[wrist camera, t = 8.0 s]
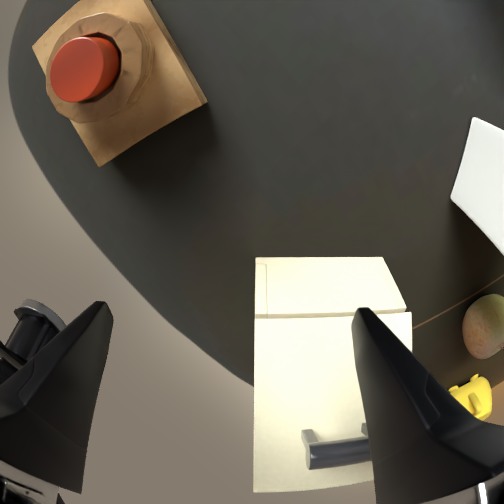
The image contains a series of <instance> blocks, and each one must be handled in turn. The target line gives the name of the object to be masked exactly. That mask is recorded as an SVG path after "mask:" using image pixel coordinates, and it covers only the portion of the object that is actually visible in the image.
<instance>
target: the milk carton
mask: <svg viewBox="0 0 504 504" xmlns="http://www.w3.org/2000/svg"><path fill="white" fill-rule="evenodd" d="M451 200H452V201H453V202H454V203H455V204H456V205H458V206H459V207H460V208H461V209H462V210H463V211H464V212H465V213H466V214H467V215H468V216H469V218H470V219H471V220H472V221H473V222H474V223H475V224H476V225H477V226H478V227H479V228H480V229H481V230H482V231H483V232H484V233H485V235H486V236H487V237H488V238H489V239H490V240H491V241H492V242H493V244H494V245H495V246H496V247H497V248H498V249H499V251H500V252H501V253H502V254H503V255H504V131H503V130H501V129H499V128H497V127H495V126H493V125H491V124H489V123H487V122H484V121H482V120H480V119H478V118H475V117H474V118H472V122H471V126H470V131H469V135H468V139H467V143H466V147H465V151H464V154H463V158H462V162H461V165H460V168H459V172H458V175H457V178H456V181H455V184H454V187H453V190H452V194H451Z"/></svg>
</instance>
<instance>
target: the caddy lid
mask: <svg viewBox="0 0 504 504" xmlns="http://www.w3.org/2000/svg"><path fill="white" fill-rule="evenodd" d="M377 316H378V317H379V318H380V319H381V320H382V321H383V322H384V323H385V324H386V325H387V326H388V328H389V329H390V330H391V331H392V332H393V333H394V334H395V335H396V336H397V337H398V338H399V339H400V340H401V341H402V342H403V343H404V345H405V346H406V347H407V348H408V349H409V350H410V351H411V352H412V315H411V312H404V313H392V314H379V315H377ZM353 317H354V316H346V317H323V318H282V319H255V343H254V466H253V468H254V469H253V491H254V492H288V491H303V490H313V489H322V488H330V487H337V486H343V485H349V484H354V483H360V482H365V481H370V480H374V475H373V467H372V459H371V452H370V445H369V438H368V432H367V426H366V420H365V414H364V409H363V403H362V398H361V393H360V388H359V383H358V378H357V373H356V368H355V360H354V350H353V340H352V332H351V323H352V320H353Z"/></svg>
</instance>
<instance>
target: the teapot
mask: <svg viewBox="0 0 504 504" xmlns="http://www.w3.org/2000/svg"><path fill="white" fill-rule="evenodd" d="M448 391H449V392H450V394H451V395H452V396H453V397H454V398H455V399H456V400H458V401H459V402H460V403H461V404H462V405H463V406H464V407H465V408H466V409H467V410H468V411H469V412H470V413H471V414H473V415H474V416H475V417H476V418H478V419H480V420H482V421H483V420H484V419H485V418H487V417H488V416H489V415H490V413H491V410H492V394H491V388H490V385H489V382H488V380H487V379H485V378H484V377H479V378H478V374H476V375H474V376H473V377H472V378H471V379H470V382H469V383H467V384H465V385H463V386H462V387H460V388H458V386H457V385H456V386H454V387H452V388H450V389H449V390H448Z"/></svg>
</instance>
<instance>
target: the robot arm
mask: <svg viewBox="0 0 504 504" xmlns="http://www.w3.org/2000/svg"><path fill="white" fill-rule="evenodd" d="M14 313H15V315H16V316H17V318H18V319H19V321H18V323H17V325H16V326H15V328H14V330H13V332H12V333H11V335H10V337H9V339H8V341H7V343H6V344H5V345H3V343H2V342H1V341H0V358H1V359H0V504H65V503H64V502H63V500H62V498H61V497H60V495H59V493H58V489H59V487H61V488H64V489H67V490H70V491H73V492H76V493H79V494H81V492H82V483H83V475H84V467H85V459H86V453H87V446H88V440H89V434H90V429H91V423H92V419H93V414H94V408H95V404H96V400H97V396H98V391H99V387H100V383H101V379H102V374H103V371H104V367H105V363H106V359H107V355H108V349H109V343H110V337H111V332H112V327H113V316H112V313H111V311H110V309H109V307H108V305H107V303H106V302H103V301H96V302H94V303H93V304H92V305H90V306H89V307H88V308H87V309H86V310H85V311H83V312H82V313H81V314H80V315H79V316H78V317H77V318H76V319H74V320H73V321H72V322H71V323H70V324H69V325H67V326H66V327H65V328H64V329H63V330H62V331H61V332H60V333H58V332H57V331H56V330H55V328H54V327H53V325H52V324H51V322H50V320H49V319H48V317H47V316H46V315H44V314H41V313H35V312H30V311H24V310H19V309H15V310H14ZM351 332H352V340H353V350H354V360H355V368H356V373H357V378H358V383H359V388H360V393H361V398H362V403H363V409H364V414H365V420H366V426H367V432H368V438H369V445H370V452H371V459H372V467H373V475H374V484H375V492H376V503H377V504H504V426H501V425H496V424H492V423H487V422H484V421H482V420H480V419H478V418H476V417H475V416H474V415H473V414H471V413H470V412H469V411H468V410H467V409H466V408H465V407H464V406H463V405H462V404H461V403H460V402H459V401H458V400H456V399H455V398H454V397H453V396H452V395H451V394H450V393H449V392H448V391H447V390H446V389H445V388H444V387H443V386H442V385H441V384H440V383H439V382H438V381H437V379H436V378H435V377H434V376H433V375H432V374H431V373H430V372H429V371H428V370H427V368H426V367H425V366H424V365H423V364H422V363H421V362H420V361H419V360H418V359H417V357H416V356H415V355H414V354H413V353H412V352H411V351H410V350H409V349H408V348H407V347H406V346H405V345H404V343H403V342H402V341H401V340H400V339H399V338H398V337H397V336H396V335H395V334H394V333H393V332H392V331H391V330H390V329H389V328H388V326H387V325H386V324H385V323H384V322H383V321H382V320H381V319H380V318H379V317H378V316H377V315H376V314H375V313H374V312H373V311H372V310H371V309H370V308H369V307H359V308H357V310H356V312H355V315H354V317H353V320H352V323H351Z"/></svg>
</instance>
